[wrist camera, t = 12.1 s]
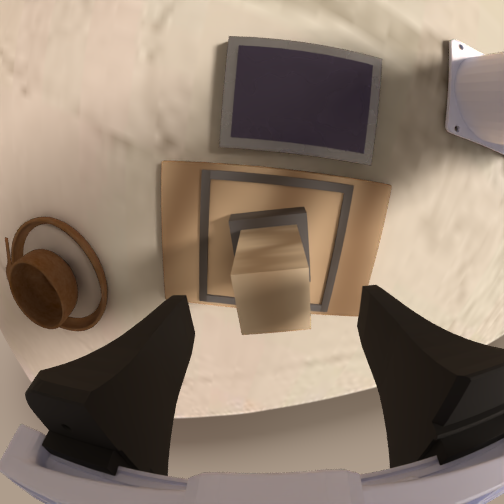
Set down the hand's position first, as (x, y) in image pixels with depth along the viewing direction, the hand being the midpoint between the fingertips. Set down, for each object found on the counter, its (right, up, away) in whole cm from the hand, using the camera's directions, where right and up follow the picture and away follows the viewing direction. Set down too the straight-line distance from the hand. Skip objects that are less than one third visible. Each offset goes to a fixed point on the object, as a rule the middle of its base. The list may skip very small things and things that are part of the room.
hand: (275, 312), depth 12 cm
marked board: (0, +3, +10) cm, 10 cm away
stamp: (0, +3, +9) cm, 10 cm away
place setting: (-20, -3, +15) cm, 25 cm away
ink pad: (+2, +12, +6) cm, 14 cm away
